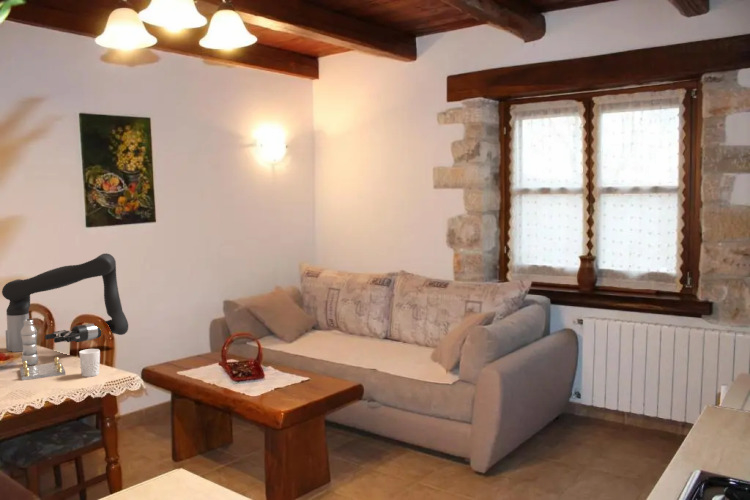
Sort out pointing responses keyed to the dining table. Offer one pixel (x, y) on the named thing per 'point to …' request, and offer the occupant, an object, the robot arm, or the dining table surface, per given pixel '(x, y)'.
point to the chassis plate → (41, 370)
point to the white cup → (89, 362)
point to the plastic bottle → (29, 342)
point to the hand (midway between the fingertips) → (49, 338)
